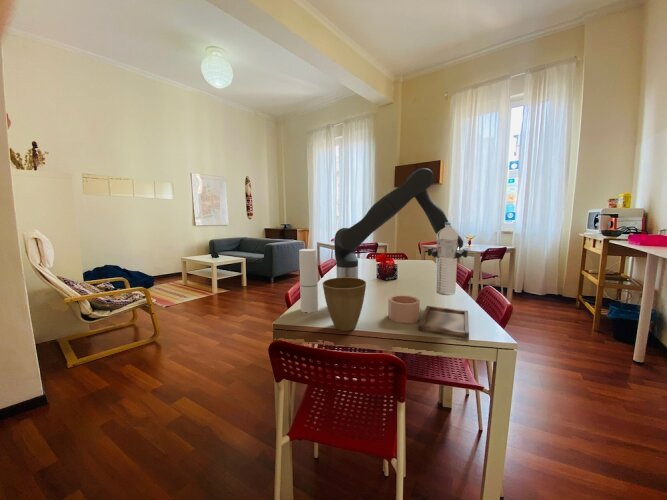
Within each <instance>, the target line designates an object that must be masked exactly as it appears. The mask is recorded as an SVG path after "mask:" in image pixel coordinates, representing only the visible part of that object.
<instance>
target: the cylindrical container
mask: <svg viewBox="0 0 667 500" xmlns="http://www.w3.org/2000/svg"><path fill="white" fill-rule="evenodd" d="M298 251H299V252H298V256H299V258H298V260H299V261H298V263H299V287H300V289H299V290H300V292H299V294H300V312H302V313H304V312H307V313H306V314H312V313H311V312H313V313H316V312H318V311H319V287H318V285H319V284H318V283H319V282H318V281H319V280H318V249H317V248H302V249H299V250H298ZM317 310H318V311H317Z"/></svg>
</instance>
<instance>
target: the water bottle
mask: <svg viewBox="0 0 667 500" xmlns="http://www.w3.org/2000/svg"><path fill="white" fill-rule="evenodd" d="M451 224H452V223H451V221H450V222H449V221H448V222H445V227H444V228H442V229H441V230H440V231H439V232H438V233H437V234H436V248H437V253H436V257H435V278H434V280H435V282H434V291H435V293H436V294H438V295H442V296H453V295H455V293H456V290H457V289H456V288H457V270H458V269H457V268H458V266H457V265H458V263H457V262H458V259H457V239H458V235H459V234H458V232H457V231H456V230H455V229H454V228H453V227H452V226H451ZM450 226H451V227H452V228H451V227H450Z"/></svg>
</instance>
